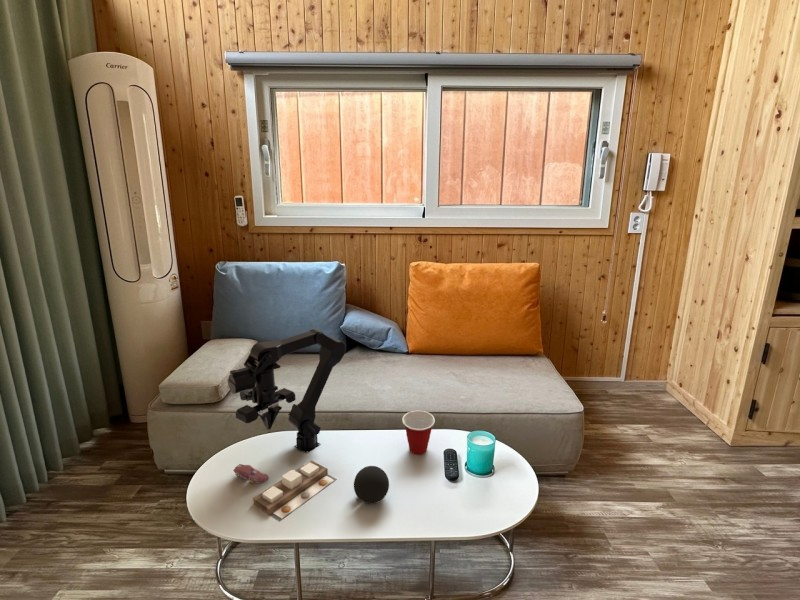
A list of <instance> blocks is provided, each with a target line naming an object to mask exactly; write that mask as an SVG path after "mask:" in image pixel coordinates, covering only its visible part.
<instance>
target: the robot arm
mask: <svg viewBox="0 0 800 600" xmlns="http://www.w3.org/2000/svg"><path fill="white" fill-rule="evenodd" d="M315 345H318V346H320V348H319V351H318V352H319V353H318V356H319V358H318V359H319V361H318V364H317V366H316V367H315V368H316V369H315V371H314V373H313V375H312V377H311V379H310V382H309V384H308V387H307V388H306V391H305V393H304V395H303V398H302V400H301V401H300V402H298V403H297V404H296V403H294V404H293V405H292V406H291V409H290V412H288V423H289V425H291V426H292V427H293V428H294V429H295V430H297V432H296V438H295V440H296V444H295V445H294V448H296V449H297V450H299V451H300V452H303V453H306V454H307V453H308V454H309V453H310V452H312V451H314V450H315V449H316V448H318V447H319V446H321V443H320V442H318V435H319V434H320V432H321V426H319V425H318V424H316V422H315V420H316V407H317V404H318V402H319V399H320V398H321V396H322V393H323V390H324V389H325V386H326V384H327V381H328V379H329V378H330V377H329V376H330V375H331V372H332V370H333V368H334V367H335V366H337V365H338V364H339V363H340V362H341V361H342V359H343V358H344V356H345V354H346V351H347V348H346V344H345V343H344V342H342V341H340V340H339V339H337V338H334V337H332V336H327V335H326V334H324V332H323V331H320V330H318V329H316V328H312V329H310V330H309V331H306V332H303V333H300V334H296V335H294V336H290V337H287V338H284V339H282V340H277V341H276V340H275V341H272V340H271V341H270V340H269V341H262V342H260V341H259V342H257V343H255V344H253V345H252V347H251V349H250V351H249V352H250V353H249V354H248V356H247V358H246V359H245V361H244V363H243V366H244V367H242V368H237V369H233V370H230V371H229V375H228V378H227V384H228V388H229V390H230V393H232V395H236V394H239V398H240V400H241V401H246V402H249V401H251V403H252V404H256V405H254V406H253V407H252V406H251V405H248V404H246V405H244V406H242V407H239V408H237V409H236V410H235V418H236V419H238V420H239V421H242V422H243V423H245V424H250V423H252V422H254V421H256V420H258V418H260V420H261V421H262V423H263V425H264V427H265V428H266V430H268V431H270V430H271V429H272V427H273V425H274V423H275V420H276V418H277V417H278V414H279V413H280V411H281V410H282V408H283V407H282V406H281V405H280V404H279V403H280V402H282V401H284V400H285V402H286V403H287V404H291V403H293V402H294V401H296V394H295V391H292V390H290V389H287V388H286V387H285V388H284V387H283V388H281V389H279V386H277V385H276V383H275V370H276V369H277V370H278V369H280V368H281V365H280V364H279V363H277V362H279V361H280V360H281V359H282V358H283V357H284V356H286V355H289V354H292V353H295V352H297V351H300V350H303V349H306V348H309V347H311V346H315ZM255 362H256V363H255Z"/></svg>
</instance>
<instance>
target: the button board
mask: <svg viewBox="0 0 800 600" xmlns="http://www.w3.org/2000/svg"><path fill="white" fill-rule="evenodd" d="M308 463H312V464H314V465H316V466H318V467H319V471H318V472H317V473H315V474H314V475H313V476H311V477H310V478H309V477H307V476H306V475H304V474H302V473H300V468H302V467H304V466H305V465H307V464H308ZM328 470H329V469H328V467H325V466H323V465H321V464H320V463H317V462H316V461H314V460H313V459H311V460H310V461H309V462H306V463H305V464H304V465H302V466H300V467H299V468H297V469H296V470H295V471H296V472H298V473H300V474H301V475H302V483H301V484H299V485H298V486H296V487H295V488H294V489H292V490H290V489H289V488H287V487H285V486H284V485H282V479H281V480H279V481H277V482H276V483H274V484H273V485H271V486H270V487H268V488H267V489H265V490H264V491H262V492H261V493H259V494H258V495H256V496H255V497H252V500H253V501H252V502H253V504H252V505H253V506H255V507H256V508H258V509H260V510H261V511H262V512H264V513H266V514H267V515H268V516H270V517H272V518H273V519H274V520H276V521H278V522H279V523H280V522H282V521H283V520H284V519H285V518H287V517H288V516H290V515H291V514H292V513H294V512H295V511H297V510H298V509H299V508H300V507H302V506H303V505H305V504H306V503H307V502H308V501H310V500H311V499H313V498H314V497H315V496H317V495H318V494H319V493H321V492H322V491H324V490H325V489H326V488H327V487H330V485H331V484H334V482H336V481H337V480H338V479H337V478H335V477H334V476H332V475H330V474H329V471H328ZM273 486H275V487H276V488H278V489H280V490H281V491H283V496H282V497H280V498H279V499H278V500H276V501H275V502H273V503H272V504H271V503H270V502H268V501H267V500H265V499H263V498H262V493H263V492H265V491H267V490H268V489H270V488H271V487H273Z"/></svg>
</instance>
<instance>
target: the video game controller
mask: <svg viewBox="0 0 800 600" xmlns="http://www.w3.org/2000/svg"><path fill="white" fill-rule="evenodd" d="M232 470H233V472H234V474H235V476H236V477H239V476H240V478H242V479H243V480H244V479H245V480H246V481H247V480H249V482H250V483H251V484H257V483H261V484H262V483H263V484H264V483H265V482H267V481H268V480H269V479H270V476H269V474H267V473H263V472H261V471H259V470H258V469H256V468H254V467H253V466H252V465H250V464H243V463H239V464H237V466H235V467H234V469H232Z"/></svg>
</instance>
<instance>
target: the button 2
mask: <svg viewBox="0 0 800 600" xmlns="http://www.w3.org/2000/svg"><path fill="white" fill-rule="evenodd" d="M307 463H308V462H307ZM307 463H306V464H307ZM304 465H305V464H304ZM304 465H303V466H304ZM301 467H302V466H301ZM301 467H299V468H300V473H302V474H304V475H306V476H307V477H309V478H310V477H311V476H313V475H314V474H315V473H317V472H318V471H319V467H318V466H316V465H314V464H312V463H308V464H307V465H305V466H304V467H302V468H301Z"/></svg>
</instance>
